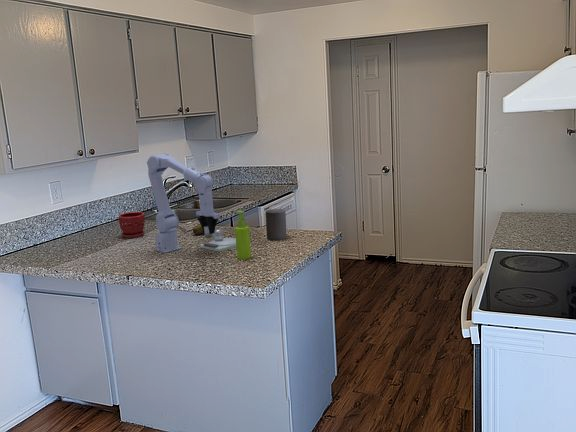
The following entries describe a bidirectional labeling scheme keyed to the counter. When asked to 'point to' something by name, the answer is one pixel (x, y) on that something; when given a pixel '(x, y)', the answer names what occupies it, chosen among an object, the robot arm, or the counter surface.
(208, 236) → the cylinder
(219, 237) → the cylinder
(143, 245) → the counter surface
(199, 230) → the potato
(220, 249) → the scale
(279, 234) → the pillar candle
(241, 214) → the soap dispenser
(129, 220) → the plant pot
